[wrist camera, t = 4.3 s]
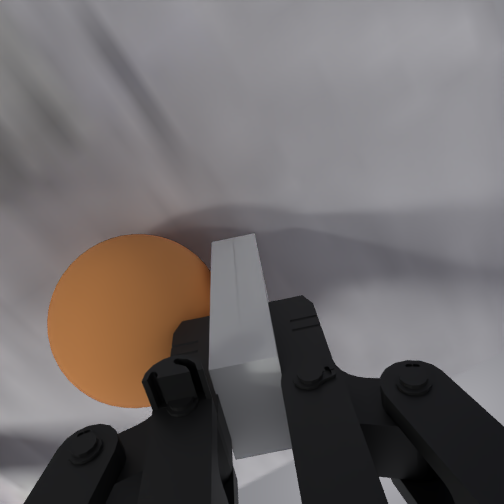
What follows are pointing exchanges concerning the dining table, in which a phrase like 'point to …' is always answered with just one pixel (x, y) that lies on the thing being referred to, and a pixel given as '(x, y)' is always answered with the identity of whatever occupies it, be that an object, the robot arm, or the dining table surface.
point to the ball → (124, 313)
